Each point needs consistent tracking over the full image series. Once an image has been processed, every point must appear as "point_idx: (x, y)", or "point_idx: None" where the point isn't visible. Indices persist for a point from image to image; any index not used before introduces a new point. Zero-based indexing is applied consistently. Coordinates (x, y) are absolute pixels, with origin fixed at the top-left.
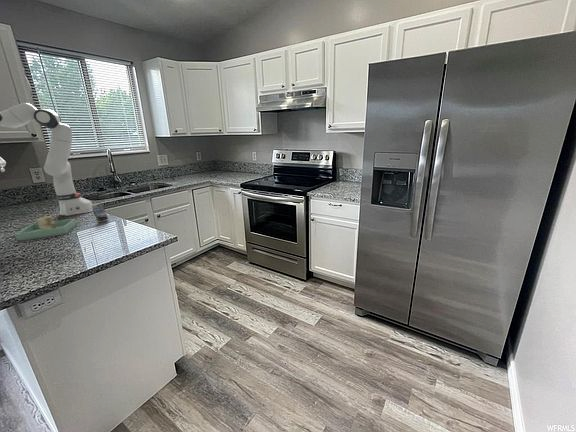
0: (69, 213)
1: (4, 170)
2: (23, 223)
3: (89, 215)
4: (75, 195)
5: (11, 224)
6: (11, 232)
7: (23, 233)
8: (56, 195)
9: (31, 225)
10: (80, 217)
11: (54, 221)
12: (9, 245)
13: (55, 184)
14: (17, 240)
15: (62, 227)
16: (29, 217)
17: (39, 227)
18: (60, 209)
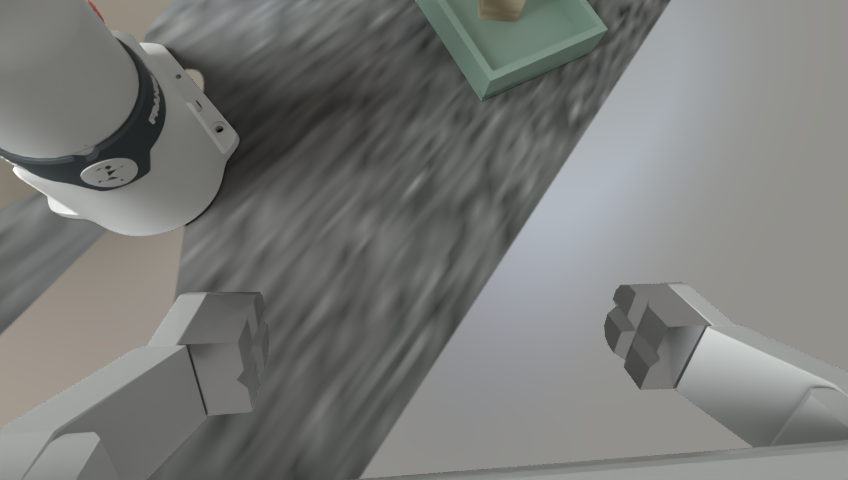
0: (213, 133)
1: (212, 298)
2: (383, 286)
3: (245, 10)
4: (98, 13)
5: (402, 353)
6: (517, 189)
7: (590, 9)
8: (120, 132)
9: (506, 65)
10: (281, 33)
11: (444, 3)
12: (628, 41)
13: (53, 17)
14: (592, 50)
15: None
16: None
17: (523, 4)
18: (190, 181)
